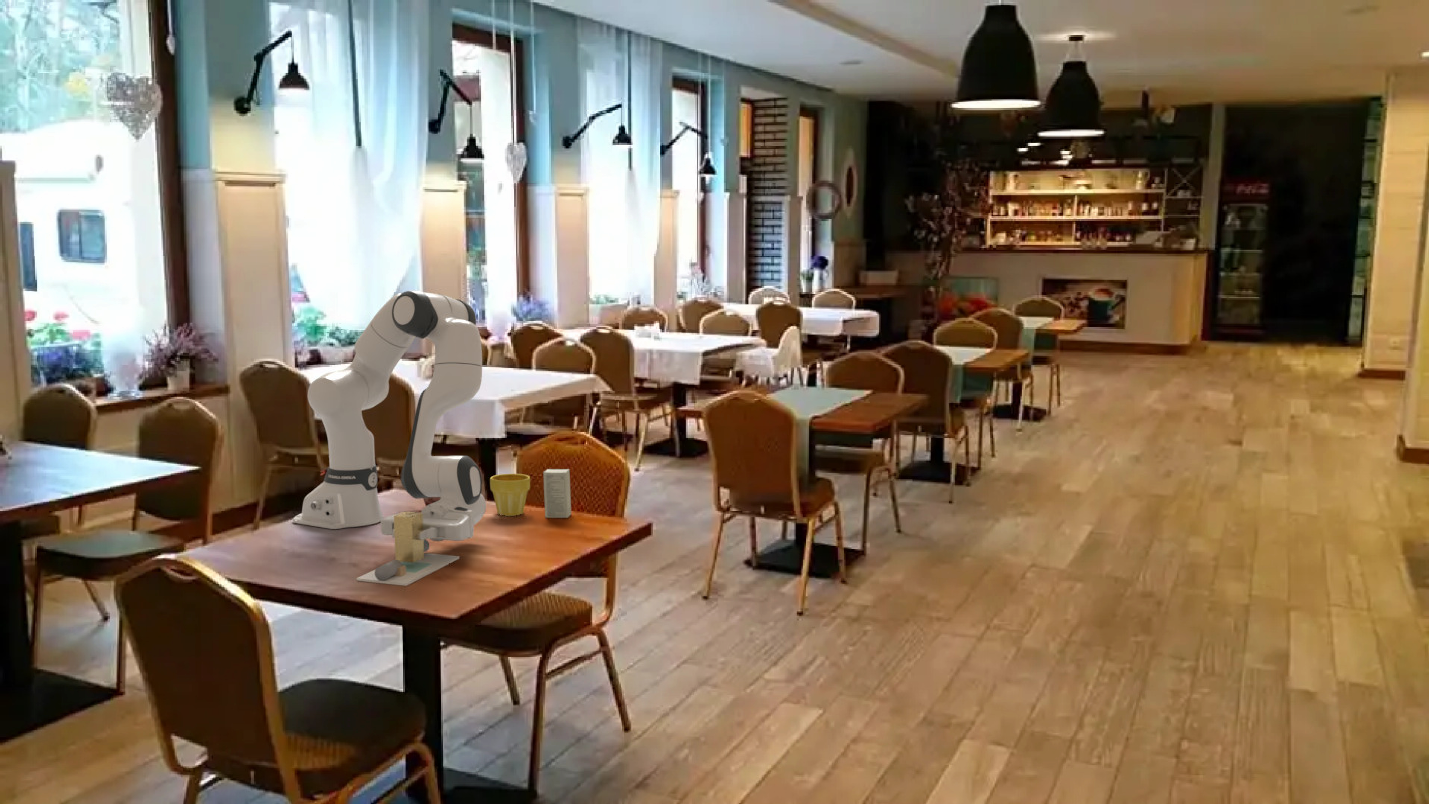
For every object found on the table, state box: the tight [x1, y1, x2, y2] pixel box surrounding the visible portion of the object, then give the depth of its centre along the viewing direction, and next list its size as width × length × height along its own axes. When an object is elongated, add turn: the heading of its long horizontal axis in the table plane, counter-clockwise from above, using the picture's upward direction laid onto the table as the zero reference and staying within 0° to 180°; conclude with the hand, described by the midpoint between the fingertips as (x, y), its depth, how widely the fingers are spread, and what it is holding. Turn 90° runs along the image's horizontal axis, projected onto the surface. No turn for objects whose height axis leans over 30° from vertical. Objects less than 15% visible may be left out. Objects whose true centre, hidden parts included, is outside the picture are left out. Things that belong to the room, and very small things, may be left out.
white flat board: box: [356, 539, 460, 586], centre depth 258 cm, size 23×12×4 cm, turn 163°
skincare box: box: [542, 468, 572, 519], centre depth 306 cm, size 6×4×12 cm
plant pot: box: [489, 473, 531, 517], centre depth 309 cm, size 10×10×10 cm
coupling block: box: [394, 511, 425, 563], centre depth 257 cm, size 4×4×10 cm
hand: (406, 535), depth 256 cm, fingers closed on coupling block, 4 cm apart
